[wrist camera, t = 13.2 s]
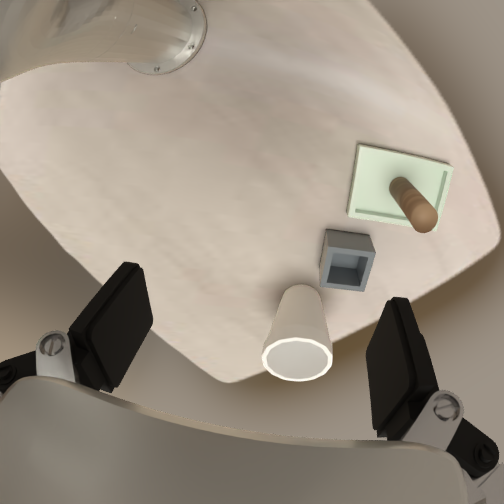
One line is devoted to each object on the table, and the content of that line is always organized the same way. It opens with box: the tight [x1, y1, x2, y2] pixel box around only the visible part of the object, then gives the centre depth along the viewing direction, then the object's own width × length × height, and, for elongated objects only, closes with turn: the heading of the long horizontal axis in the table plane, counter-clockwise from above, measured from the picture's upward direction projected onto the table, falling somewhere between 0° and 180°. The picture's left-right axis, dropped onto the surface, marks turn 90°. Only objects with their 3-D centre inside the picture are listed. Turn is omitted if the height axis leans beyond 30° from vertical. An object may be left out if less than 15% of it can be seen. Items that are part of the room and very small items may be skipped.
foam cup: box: [262, 284, 332, 381], centre depth 43 cm, size 10×9×13 cm
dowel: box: [389, 177, 438, 233], centre depth 32 cm, size 3×3×10 cm
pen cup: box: [319, 229, 376, 292], centre depth 41 cm, size 6×6×5 cm
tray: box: [346, 144, 454, 231], centre depth 36 cm, size 14×10×2 cm
